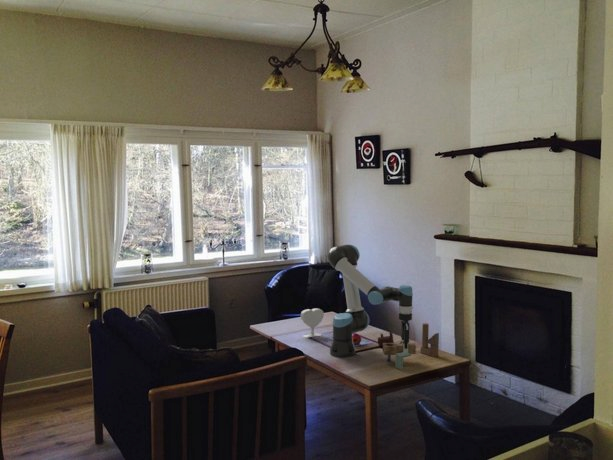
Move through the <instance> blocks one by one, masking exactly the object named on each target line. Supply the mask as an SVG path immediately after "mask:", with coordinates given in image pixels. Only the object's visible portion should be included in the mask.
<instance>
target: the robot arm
mask: <svg viewBox="0 0 613 460" xmlns="http://www.w3.org/2000/svg"><path fill="white" fill-rule="evenodd" d="M359 259H360V251H359V249H358V248H357V247H356V246H355V245H353V244H344V245H336V246H333V247H331V248H330V249H329V251H328V252H327V260H328V263H329V264H330V266H331V267H332V268H333V269H335V270H336V271H339V272H340V273H341V274H342V279H343V280H342V281H343V287H344V293H345V299H346V300H345V301H346V307H347V309H346V310H345V312H341V313H340V312H339V313H337V314H335V315H334V316H333V318H332V319H333V320H332V342H331V345H330V348H329V354H330V355H331V356H334V357H339V358H349V357H352V356H355V355H356V348H355V345H354V342H353V334H355V333H358V332H362V331H364V330H366V329H367V328H368V327H369V324H370V316H369V314H368V313H367V312H366V310H365V308H364V307H363V306H362V303H361V302H362V301H361V297H360V291H361V292H362V293H364V294H365V295H366V296H367V300H368V302H369V303H370V304H371V305H374V306H375V305H380V304H383V303H387V302H391V301H393V302H398V320H400V323H401V324H400V325H401V326H400V327H401V328H400V329H401V330H400V331H401V333H400V334H401V336H400V337H401V340H402V344H403V352H408V344H410V328H411V327H410V323H409V321H412V320H413V309H414V307H413V287H412V286H410V285H408V284H406V285H404V284H403V285H399V287H393V286H382V287H381V288H379V287H378V286H376V285H375V284H374V283H373V282H372V281H370V279H369V278H368V277H366V276H365V275H364V274H363V273H362V272H361V271H360V270H358V268H357V267H358V261H359Z"/></svg>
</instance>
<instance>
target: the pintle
mask: <svg viewBox="0 0 613 460" xmlns="http://www.w3.org/2000/svg"><path fill="white" fill-rule="evenodd" d="M386 356H387V358H386V359H387V360H386V362H388V363H389V362H392V355H386Z"/></svg>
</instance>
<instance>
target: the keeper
mask: <svg viewBox="0 0 613 460" xmlns="http://www.w3.org/2000/svg"><path fill="white" fill-rule="evenodd" d="M394 356H395V359H394V361H395V365H394V367H395V368H396V369H399V370H403V369H404V358H408V357H411V356H412V354H410V353H408V352H402V353H398V354H396V355H394Z"/></svg>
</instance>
